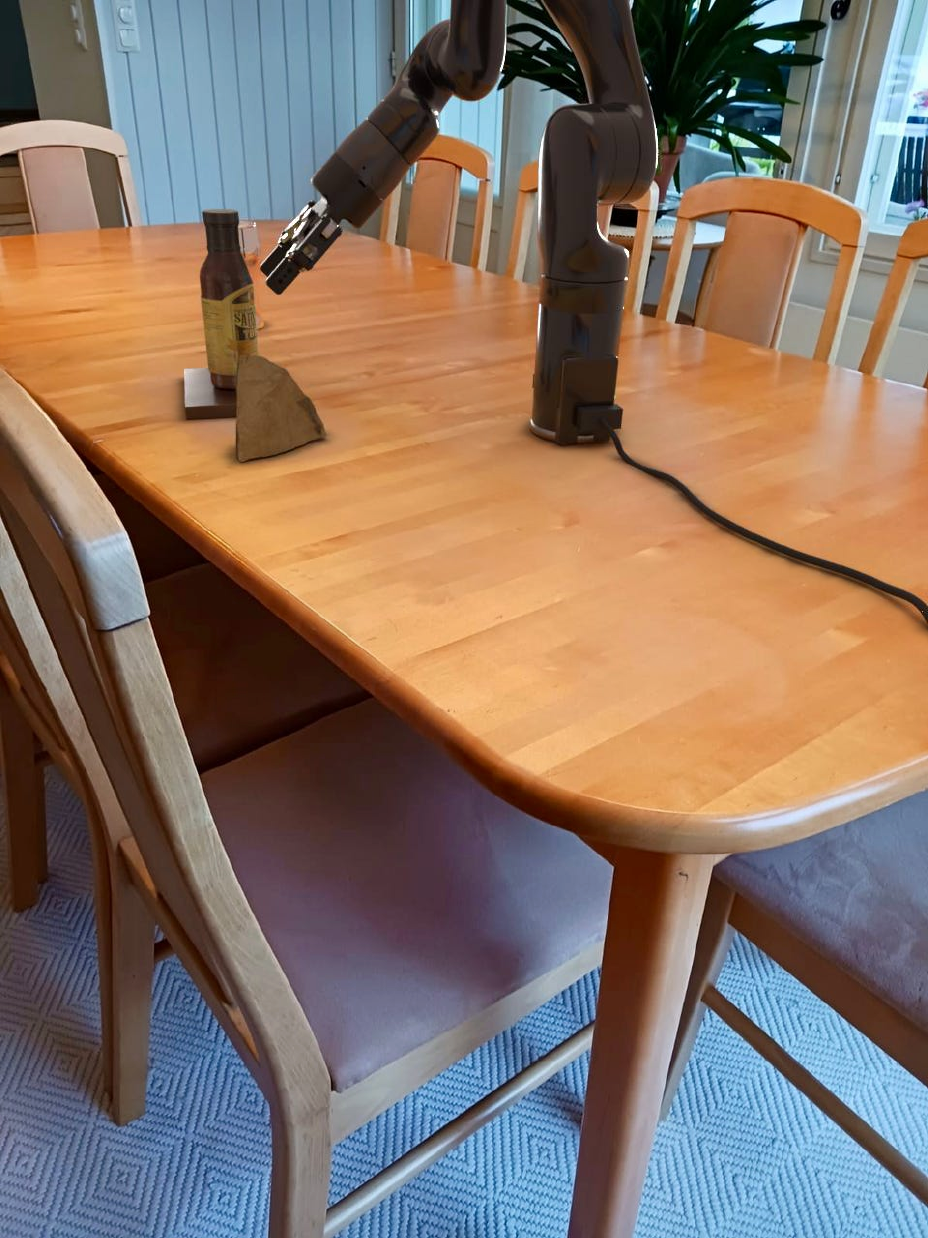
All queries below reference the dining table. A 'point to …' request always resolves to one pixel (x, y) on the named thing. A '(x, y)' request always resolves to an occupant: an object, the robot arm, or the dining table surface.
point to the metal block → (207, 396)
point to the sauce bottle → (226, 299)
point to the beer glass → (252, 259)
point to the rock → (271, 410)
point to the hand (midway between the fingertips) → (268, 281)
